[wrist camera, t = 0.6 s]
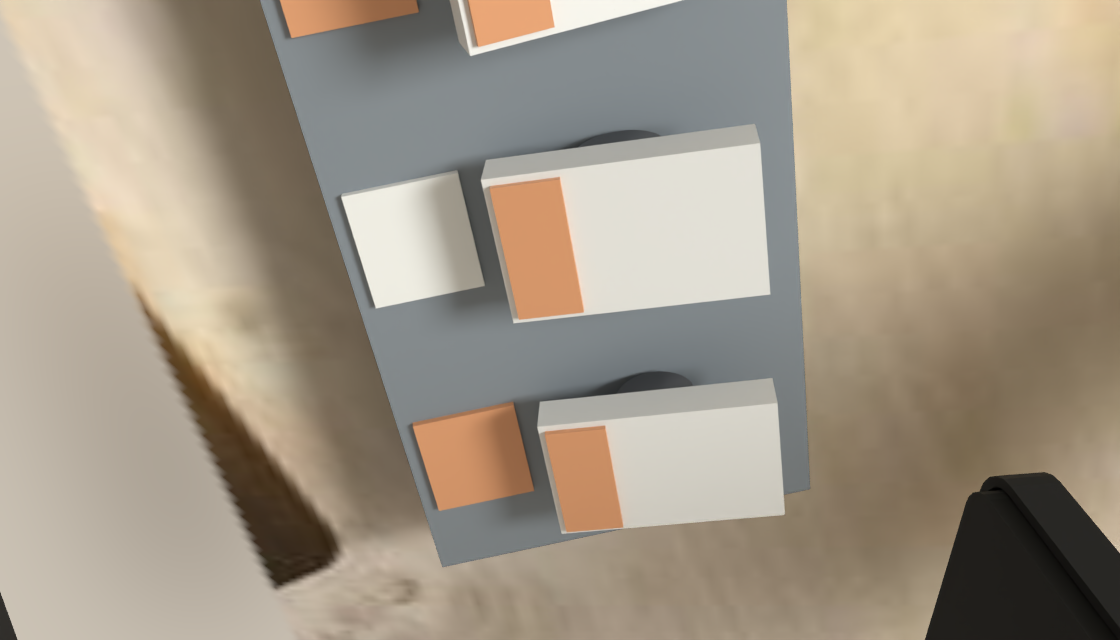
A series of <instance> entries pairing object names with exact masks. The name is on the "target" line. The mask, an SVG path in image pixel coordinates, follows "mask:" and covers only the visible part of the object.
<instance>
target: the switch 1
mask: <svg viewBox="0 0 1120 640" xmlns="http://www.w3.org/2000/svg"><path fill="white" fill-rule="evenodd" d="M678 1H682V0H450V4H451V8H452V13H453V17H454V22H455V26H456V31H457V35H458V40H459V43H460V44H461V45H462V47H463V48H464V49H465V50H466V51H467V53H468V54H469V55H470V56H473V55H476V54H480V53H484V52H488V51H492V50H495V49H499V48H503V47H507V46H511V45H514V44H518V43H522V42H526V41H530V40H533V39H537V38H541V37H545V36H549V35H552V34H556V33H560V32H564V31H568V30H571V29H575V28H579V27H583V26H587V25H591V24H594V23H598V22H602V21H606V20H610V19H613V18H617V17H621V16H625V15H629V14H632V13H636V12H640V11H644V10H648V9H651V8H655V7H659V6H663V5H667V4H670V3H674V2H678Z"/></svg>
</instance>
